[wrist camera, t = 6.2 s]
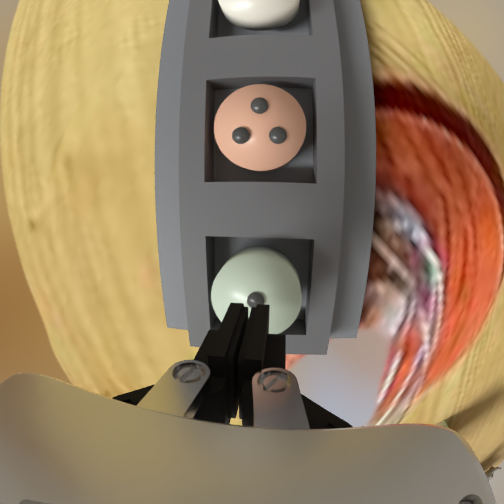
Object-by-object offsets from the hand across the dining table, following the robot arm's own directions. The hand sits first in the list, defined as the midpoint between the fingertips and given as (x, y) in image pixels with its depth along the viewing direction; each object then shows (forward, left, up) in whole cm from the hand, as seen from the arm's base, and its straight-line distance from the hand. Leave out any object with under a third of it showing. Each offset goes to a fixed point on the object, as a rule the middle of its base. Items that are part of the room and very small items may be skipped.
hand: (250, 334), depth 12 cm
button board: (-9, 0, -8) cm, 12 cm away
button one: (0, 0, -5) cm, 5 cm away
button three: (-9, 0, -6) cm, 11 cm away
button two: (-18, 0, -5) cm, 19 cm away
